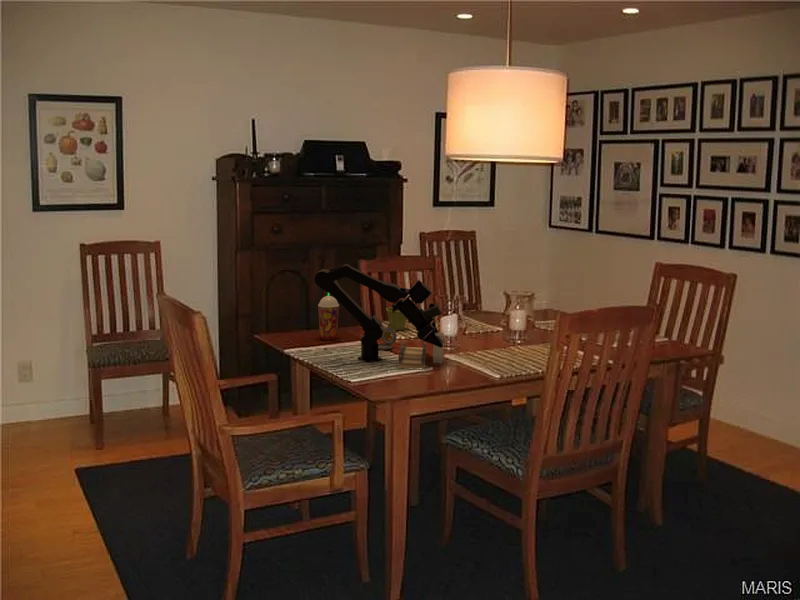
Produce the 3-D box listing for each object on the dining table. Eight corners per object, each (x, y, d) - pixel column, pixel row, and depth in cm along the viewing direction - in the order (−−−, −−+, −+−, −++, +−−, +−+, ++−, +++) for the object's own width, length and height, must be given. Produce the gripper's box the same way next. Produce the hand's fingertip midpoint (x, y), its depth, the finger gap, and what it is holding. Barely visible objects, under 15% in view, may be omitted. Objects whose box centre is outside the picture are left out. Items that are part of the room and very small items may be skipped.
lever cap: (432, 363, 306) (433, 335, 304) (433, 359, 311) (433, 332, 309) (444, 363, 306) (445, 336, 304) (445, 359, 311) (445, 333, 309)
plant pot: (412, 328, 361) (412, 308, 360) (400, 332, 353) (400, 312, 352) (393, 326, 366) (394, 306, 364) (381, 330, 358) (381, 309, 357)
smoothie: (319, 336, 345) (319, 287, 342) (340, 336, 345) (340, 287, 341) (316, 340, 337) (316, 290, 334) (337, 341, 337) (338, 291, 333)
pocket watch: (375, 350, 323) (375, 324, 321) (374, 345, 331) (375, 320, 329) (396, 350, 323) (397, 324, 321) (396, 345, 332) (396, 320, 330)
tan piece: (424, 369, 297) (424, 358, 296) (398, 368, 297) (398, 357, 297) (426, 352, 320) (426, 342, 320) (402, 352, 321) (402, 341, 320)
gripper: (427, 302, 295) (458, 334, 297) (429, 292, 314) (458, 323, 315) (404, 323, 297) (435, 355, 299) (407, 313, 315) (436, 343, 317)
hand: (442, 343), depth 307 cm, fingers open, 9 cm apart
